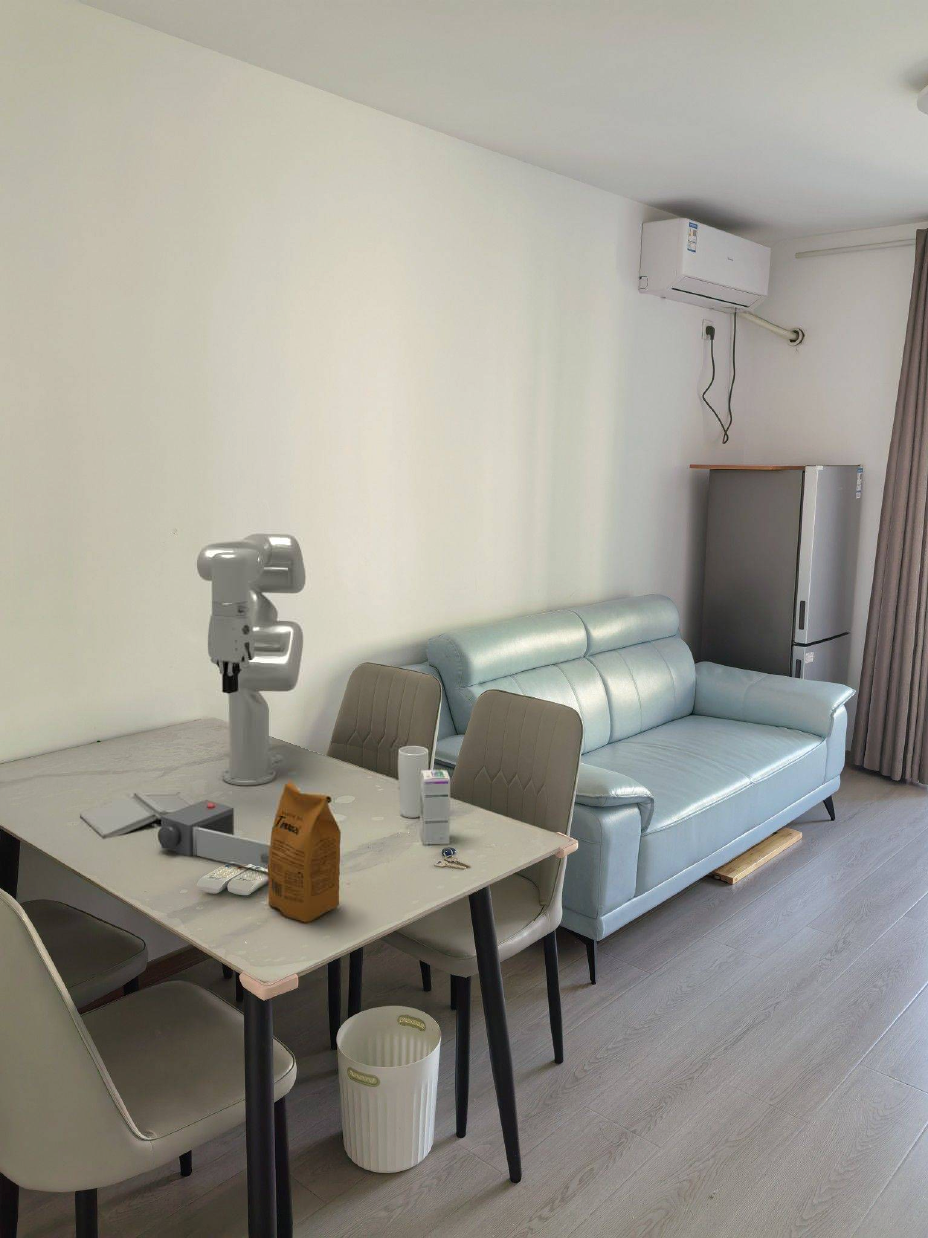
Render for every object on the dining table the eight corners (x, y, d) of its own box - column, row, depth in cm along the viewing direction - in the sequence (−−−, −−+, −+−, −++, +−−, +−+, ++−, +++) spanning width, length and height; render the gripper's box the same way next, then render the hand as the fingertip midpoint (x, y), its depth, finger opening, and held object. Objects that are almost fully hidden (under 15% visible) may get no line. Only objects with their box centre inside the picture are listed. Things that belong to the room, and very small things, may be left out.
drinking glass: (433, 814, 215) (435, 750, 212) (411, 822, 210) (413, 756, 208) (412, 806, 219) (413, 743, 217) (390, 814, 215) (391, 749, 212)
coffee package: (303, 887, 177) (304, 773, 173) (347, 909, 169) (349, 790, 165) (258, 904, 170) (258, 785, 166) (302, 928, 161) (302, 804, 158)
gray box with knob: (206, 828, 202) (206, 796, 201) (234, 837, 198) (233, 805, 197) (153, 850, 191) (153, 816, 190) (181, 860, 187) (181, 825, 185)
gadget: (103, 842, 195) (103, 825, 195) (79, 819, 207) (78, 803, 206) (208, 818, 210) (208, 802, 209) (180, 798, 221) (179, 783, 221)
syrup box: (449, 844, 199) (452, 777, 196) (421, 845, 198) (423, 778, 195) (445, 834, 204) (448, 769, 202) (418, 834, 203) (420, 769, 201)
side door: (278, 872, 182) (278, 845, 181) (273, 875, 180) (274, 848, 179) (195, 852, 189) (195, 826, 188) (190, 855, 188) (190, 828, 187)
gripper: (267, 611, 206) (267, 694, 209) (217, 603, 213) (218, 683, 216) (242, 615, 199) (242, 700, 202) (192, 607, 207) (193, 690, 210)
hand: (230, 691), depth 209 cm, fingers closed
